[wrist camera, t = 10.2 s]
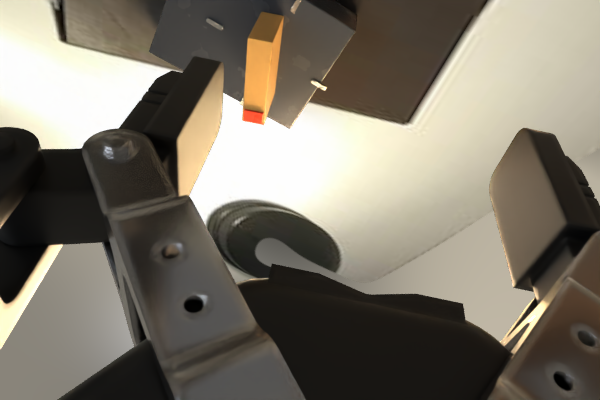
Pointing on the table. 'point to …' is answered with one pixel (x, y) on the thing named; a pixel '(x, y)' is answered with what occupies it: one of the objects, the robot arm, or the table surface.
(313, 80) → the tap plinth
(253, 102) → the tap lever
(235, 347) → the robot arm
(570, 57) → the table surface
